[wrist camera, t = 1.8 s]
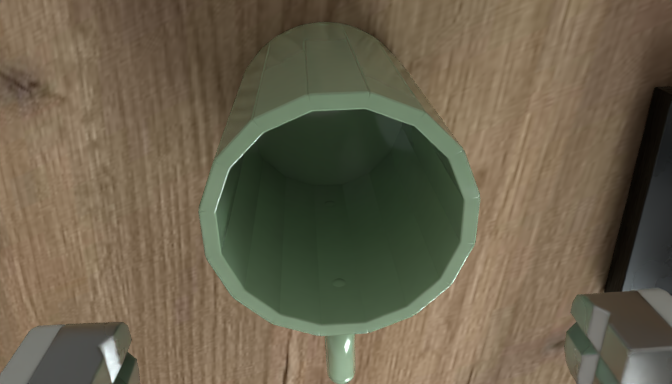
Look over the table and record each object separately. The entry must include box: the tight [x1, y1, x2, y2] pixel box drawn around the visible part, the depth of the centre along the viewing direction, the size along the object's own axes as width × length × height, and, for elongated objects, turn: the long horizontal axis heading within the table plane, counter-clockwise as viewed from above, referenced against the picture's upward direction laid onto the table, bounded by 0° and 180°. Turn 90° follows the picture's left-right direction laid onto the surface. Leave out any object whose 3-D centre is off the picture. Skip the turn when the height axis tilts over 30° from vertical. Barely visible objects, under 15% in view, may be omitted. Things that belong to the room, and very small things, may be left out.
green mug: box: [198, 22, 480, 384], centre depth 18 cm, size 10×7×9 cm, turn 1°
